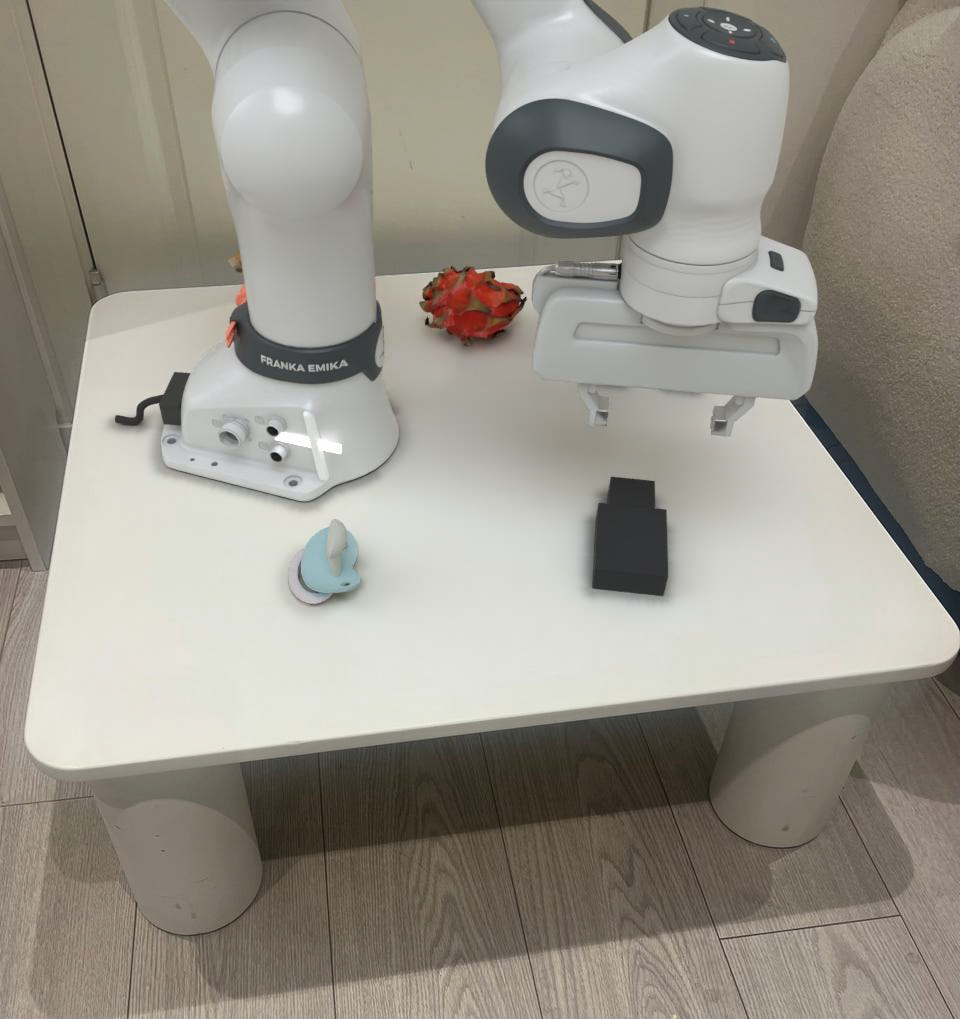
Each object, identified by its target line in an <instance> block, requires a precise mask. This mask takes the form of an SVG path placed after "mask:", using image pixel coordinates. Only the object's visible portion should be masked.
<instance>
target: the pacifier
mask: <svg viewBox="0 0 960 1019" xmlns="http://www.w3.org/2000/svg"><path fill="white" fill-rule="evenodd" d="M346 546H347V548H346ZM345 548H346V549H345ZM358 554H359V546H358V542H357V539H356V537H355V536H354V535H353V533H352V532H351V531H349V530H348V529H347V528H346V526H345V524H344V523H343V522H342V521H341V520H339V519H336V518H332V519H331V520H330V524H329V526H328V527H325V528H323V529H320V530H319V531H318V532H316V533H315V534H313V535H312V536H311V537H310V539H309V540H308V542H307V543H306V545H305V547H304V548H303V549H301V550H300V551H298V552H297V553H296V554H294V557H293V558H292V560H291V561H290V563H289V568H288V574H287V579H288V585H289V588H290V590H291V592H292V593H293V595H294V596H295V597H296V598H297V599H298V600H300V601H301V602H303V603H306V604H308V605H316V604H321V603H324V602H326V601H327V600H329V599H330V597H332V596H333V595H334V594H338V593H339V594H340V593H346V592H349V591H353V590H355V589H356V588H358V587H359V586H360V583H361V575H360V574H359V573H358V571H357V570H355V569H354V566H355V564H356V563H357V559H358ZM299 573H301V577H302V580H303V582H304V584H305V585H306V587H308V588H309V589H310V590H311V591H313V592H311V591H308V590H307V589H305V588H304V587H303V585H302V584H301V582H300V579H299ZM346 584H348V585H346Z"/></svg>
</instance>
